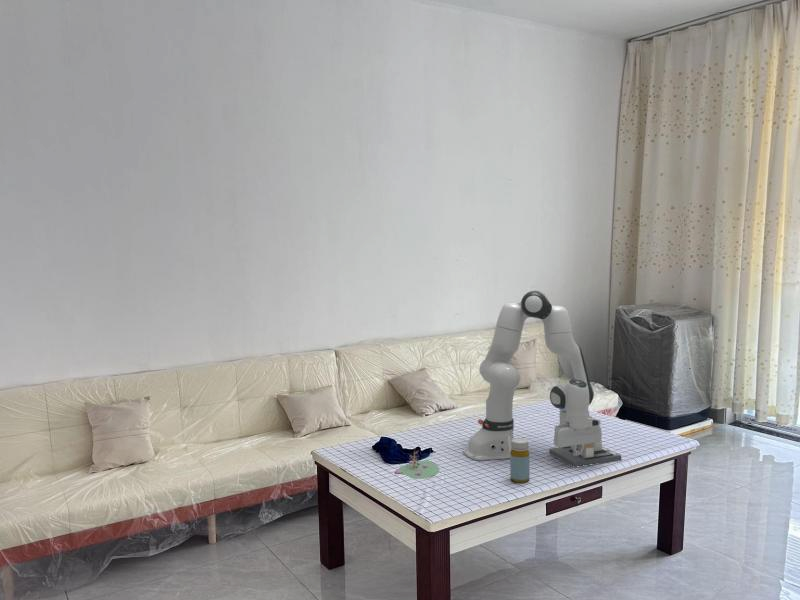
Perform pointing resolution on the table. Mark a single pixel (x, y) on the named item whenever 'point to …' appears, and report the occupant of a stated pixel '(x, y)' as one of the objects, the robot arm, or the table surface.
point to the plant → (418, 468)
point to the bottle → (519, 460)
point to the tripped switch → (588, 451)
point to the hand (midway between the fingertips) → (577, 455)
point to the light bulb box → (562, 416)
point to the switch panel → (599, 457)
